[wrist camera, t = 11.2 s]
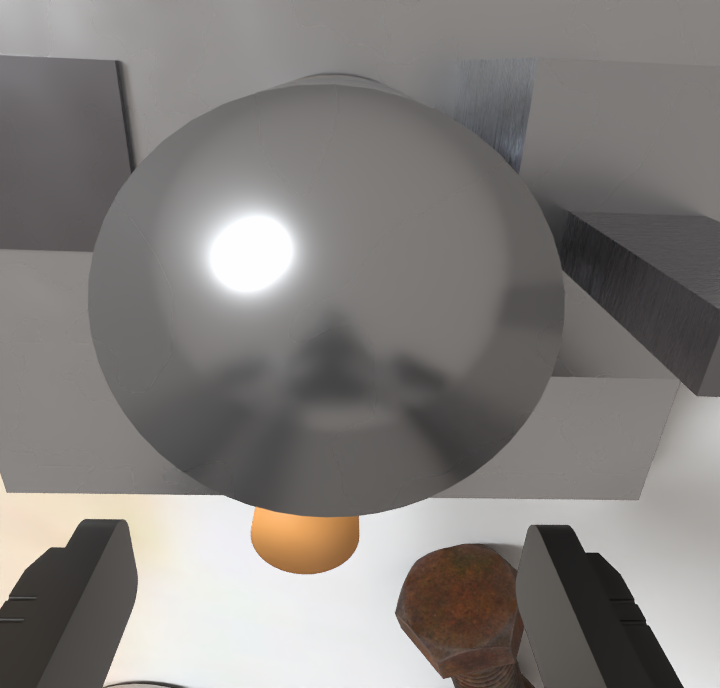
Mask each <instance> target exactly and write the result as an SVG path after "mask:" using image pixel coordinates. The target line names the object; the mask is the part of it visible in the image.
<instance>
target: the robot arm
mask: <svg viewBox="0 0 720 688" xmlns="http://www.w3.org/2000/svg"><path fill="white" fill-rule="evenodd" d="M137 585H138V575H137V569H136V564H135V558H134V553H133V548H132V543H131V537H130V532H129V527H128V524H127V522H126V520H116V519H85V520H83V521H81V523H80V524H79V525H78V527H77V528H76V530H75V532H74V533H73V535H72V537H71V539H70V540H69V542H68V544H67V546H66V547H65V548H54V547H51V548H50V549H48V550H47V551H46V552H45V553H44V554H43V555H42V556H40V557H39V558H38V559H37V560H36V561H35V562H34V563H32V564H31V565H30V566H29V567H28V568H27V569H26V570H25V571H24V573H23V574H22V576H21V577H20V579H19V581H18V582H17V584H16V585H15V587H14V588H13V590H12V592H11V593H10V595H9V599H8V601H5V603H4V604H3V606H2V607H1V609H0V688H102V687H103V684H104V682H105V679H106V676H107V674H108V671H109V669H110V666H111V663H112V661H113V658H114V656H115V653H116V650H117V648H118V645H119V643H120V640H121V638H122V635H123V632H124V630H125V627H126V625H127V622H128V619H129V617H130V614H131V612H132V609H133V606H134V603H135V599H136V593H137ZM516 598H517V604H518V608H519V612H520V615H521V618H522V621H523V624H524V627H525V630H526V633H527V636H528V639H529V642H530V645H531V648H532V651H533V654H534V657H535V660H536V663H537V666H538V669H539V672H540V675H541V678H542V681H543V684H544V687H545V688H684V687H683V685H682V684H681V682H680V680H679V678H678V677H677V675H676V673H675V671H674V669H673V668H672V666H671V664H670V662H669V660H668V659H667V657H666V655H665V653H664V651H663V650H662V648H661V646H660V644H659V642H658V641H657V639H656V637H655V635H654V633H653V632H652V630H651V628H650V626H647V624H646V619H645V617H644V616H643V614H642V612H641V610H640V608H639V607H638V605H637V604H635V602H634V598H633V596H632V594H631V592H630V590H629V589H628V587H627V585H626V583H625V581H624V580H623V578H622V576H621V574H620V573H619V572H618V571H617V570H616V569H615V568H613V567H612V566H611V565H610V564H609V563H608V562H607V561H606V560H605V559H604V558H603V557H602V556H601V555H600V554H599V553H585V551H584V549H583V547H582V545H581V543H580V542H579V540H578V538H577V536H576V534H575V532H574V530H573V529H572V528H571V527H570V526H568V525H531V526H530V527H529V528H528V531H527V535H526V539H525V543H524V547H523V551H522V556H521V560H520V564H519V568H518V572H517V577H516ZM106 688H169V687H164V686H159V685H149V684H126V685H116V686H111V687H106Z"/></svg>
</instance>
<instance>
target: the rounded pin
mask: <svg viewBox="0 0 720 688" xmlns="http://www.w3.org/2000/svg"><path fill="white" fill-rule="evenodd" d="M251 540H252V544H253V546H254V548H255V550H256V552H257V553H258V554H259V556H260V557H261V558H262V559H263V560H265V561H266V562H267V563H269V564H270V565H272V566H274V567H276V568H278V569H280V570H283V571H286V572H290V573H296V574H316V573H322V572H326V571H329V570H331V569H334V568H336V567H338V566H340V565H341V564H343V563H344V562H345V561H347V560H348V559H349V558H350V557H351V556H352V554H353V553H354V551H355V550H356V548H357V545H358V542H359V516H352V517H310V516H298V515H292V514H286V513H279V512H274V511H270V510H266V509H263V508H259V507H255V512H254V517H253V522H252V527H251Z"/></svg>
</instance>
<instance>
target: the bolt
mask: <svg viewBox="0 0 720 688" xmlns="http://www.w3.org/2000/svg"><path fill="white" fill-rule="evenodd" d="M516 577H517V571H516V569H514V568H513V567H512V566H511V565H510V564H509V563H508V562H507V561H506V560H505V559H503V558H502V557H501V556H500V555H499V554H498V553H496V552H495V551H494V550H492V549H490V548H489V547H487V546H485V545H483V544H461V545H457V546H453V547H448V548H443V549H440V550H436V551H434V552H431V553H429V554H427V555H425V556H424V557H422V558H420V559H418V560H417V561H416V562H415V564H414V565H413V566H412V568H411V570H410V571H409V573H408V575H407V577H406V579H405V582H404V584H403V586H402V589H401V592H400V595H399V599H398V603H397V607H396V611H395V614H396V617H397V619H398V621H399V624H400V626H401V628H402V629H403V631H404V632H405V633H406V634H407V636H408V637H409V638H410V639H411V640H412V642H413V643H414V644H415V645H416V646H417V648H418V649H419V650H420V651H421V652H422V654H423V655H424V656H425V657H426V659H427V660H428V661H429V662H430V663H431V665H432V666H433V667H434V668H435V669H436V671H437V672H438V673H439V674H440V676H441V677H442V678H443V679H445V678H450V677H451V678H452V681H453V683H454V686H455V688H535V687H534V686H533V685H532V684H531V683H530V682H529V681H528V680H527V679H526V678H525V677H524V676H523V675H522V674H521V672H520V669H519V665H518V662H517V659H516V657H517V653H518V649H519V645H520V641H521V637H522V633H523V629H524V624H523V621H522V618H521V615H520V612H519V608H518V604H517V598H516Z"/></svg>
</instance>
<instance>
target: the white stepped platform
mask: <svg viewBox="0 0 720 688" xmlns="http://www.w3.org/2000/svg"><path fill="white" fill-rule="evenodd" d="M680 381H681V382H682V383H683V384H684V385H685V386H687V387H688V388H689V389H690V390H691V391H692V392H693V393H694V394H695V395H696V396H711V397H720V0H0V473H1V476H2V479H3V482H4V486H5V489H6V492H7V493H90V494H173V495H225V496H227V497H229V498H232V499H235V500H238V501H240V502H243V503H246V504H248V505H251V506H255V507H259V508H263V509H266V510H270V511H274V512H279V513H286V514H292V515H298V516H310V517H352V516H360V515H367V514H374V513H380V512H384V511H388V510H392V509H396V508H401V507H404V506H407V505H410V504H413V503H416V502H418V501H421V500H424V499H427V498H508V499H592V500H639V497H640V494H641V491H642V488H643V485H644V483H645V480H646V477H647V474H648V471H649V469H650V466H651V463H652V460H653V457H654V454H655V452H656V449H657V446H658V443H659V440H660V438H661V435H662V432H663V429H664V426H665V423H666V421H667V418H668V415H669V412H670V409H671V407H672V404H673V401H674V398H675V395H676V392H677V390H678V387H679V384H680Z"/></svg>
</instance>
